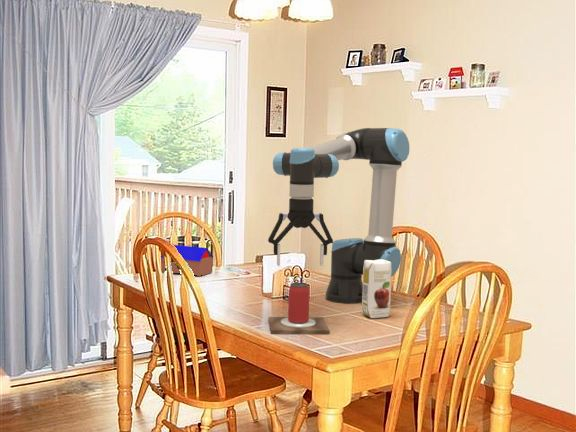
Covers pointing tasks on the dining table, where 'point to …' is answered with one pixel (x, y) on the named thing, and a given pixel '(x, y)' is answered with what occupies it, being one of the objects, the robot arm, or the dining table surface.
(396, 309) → the dining table surface
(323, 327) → the walnut board
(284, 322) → the ceramic disc
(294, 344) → the dining table surface
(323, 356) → the dining table surface
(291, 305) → the beer can
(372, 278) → the juice carton
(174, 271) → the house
